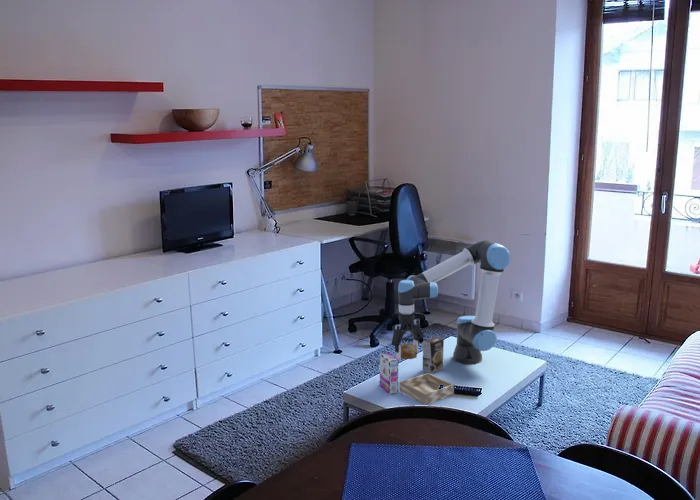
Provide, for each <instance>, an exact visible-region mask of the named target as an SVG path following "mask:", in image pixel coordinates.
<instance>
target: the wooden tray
mask: <svg viewBox="0 0 700 500" xmlns="http://www.w3.org/2000/svg"><path fill="white" fill-rule="evenodd" d="M440 385H443V386H446V387H443V388H441V389H439V386H440ZM399 393H401V394H403V395H405V396H407V397H409V398H410V399H413V401H414V400H415V401H416V402H419V403H420V404H422V405H424V406H427V405H430V404H433V403H436V402H438V401H441V400H444V399H446V398H449V397H451V396H452V397H453V396H454V395H455V384H453V383H452V382H449V381H446V380H444V379H442V378H440V377H438V376H435V375H433V374H431V373H428V372H426V373H423V374H420V375H417V376H414V377H411V378H407V379H405V380H401V381H400V382H399Z"/></svg>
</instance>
